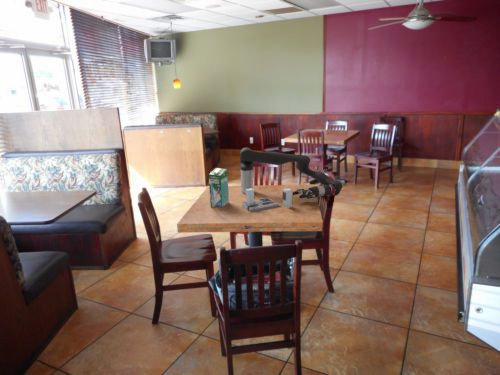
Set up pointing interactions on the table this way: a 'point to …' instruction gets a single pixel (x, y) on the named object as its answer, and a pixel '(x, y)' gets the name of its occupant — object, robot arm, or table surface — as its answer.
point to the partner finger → (250, 196)
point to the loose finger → (287, 197)
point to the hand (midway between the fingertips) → (296, 195)
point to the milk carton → (218, 187)
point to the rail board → (261, 205)
